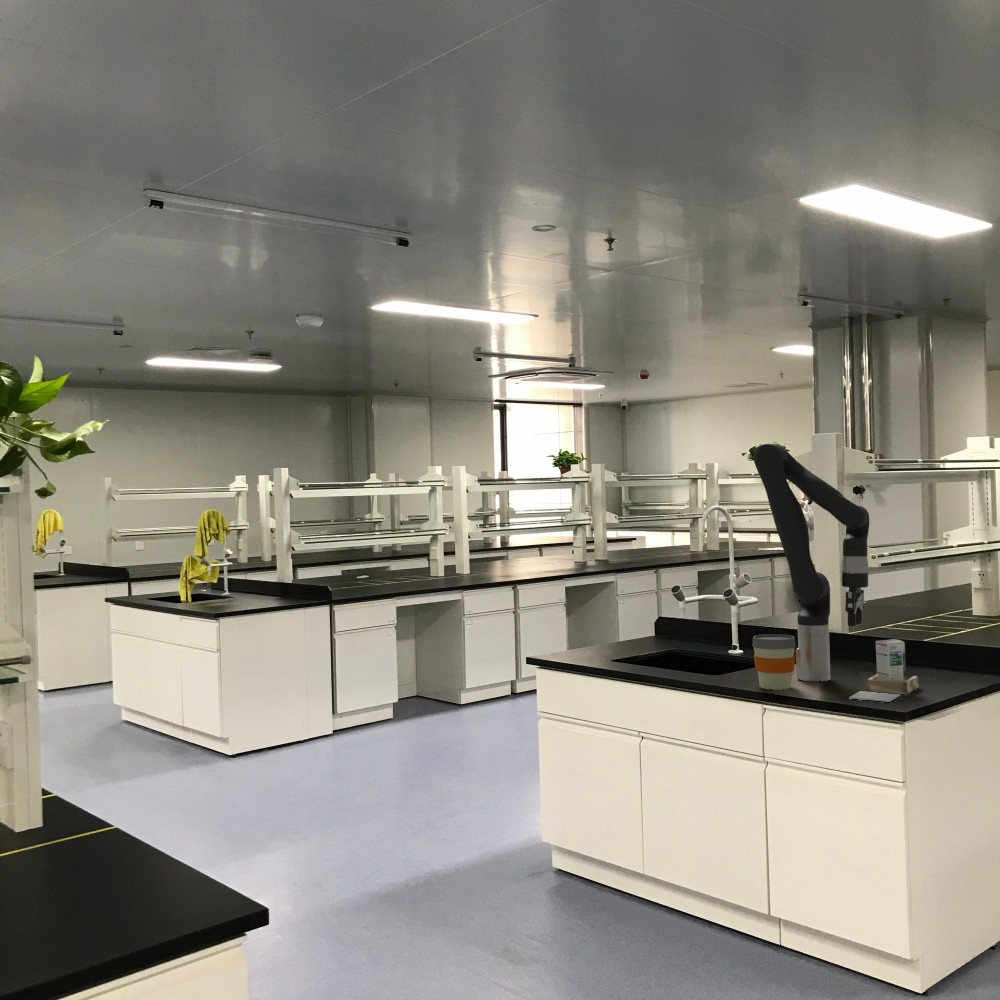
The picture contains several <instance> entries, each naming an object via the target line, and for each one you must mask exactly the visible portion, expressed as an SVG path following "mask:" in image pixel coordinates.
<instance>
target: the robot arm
mask: <svg viewBox="0 0 1000 1000" xmlns="http://www.w3.org/2000/svg"><path fill="white" fill-rule="evenodd" d="M753 462H754V463H753V464H754V466H755V468H756V470H757V473H758V475H759V477H760V480H761V482H762V484H763V487H764V489H765V492H766V496H767V501H768V504H769V508H770V511H771V515H772V518H773V523H774V525H775V529H776V531H777V534H778V536H779V537H778V538H779V540H780V544H781V546H782V550H783V552H784V555H785V558H786V561H787V564H788V569H789V574H790V580H791V585H792V589H793V592H794V594H795V596H796V597H797V599H798V600H800V602H799V603H800V604H799V605H800V606H799V612H798V613H797V619H796V621H797V642H798V643H797V646H798V647H796V649H795V664H796V680H799V679H800V680H801V681H804V682H814V683H815V682H816V683H817V682H819V681H821V682H828V680H829V681H830V680H831V659H830V658H831V657H830V656H831V655H830V654H831V652H830V651H831V650H830V629H829V627H830V625H829V622H830V621H829V620H830V619H829V618H830V614H831V587H830V582H829V579H828V578H827V577H826V575H824V574H823V573H821V572H819V571H816V568H815V565H814V562H813V559H812V557H811V551H810V532H809V527H808V523H807V520H806V516H805V514H804V511H803V508H802V506H801V503H800V501H799V499H798V498H797V497H796V495H795V493H794V492H793V490H792V489H791V487H790V485H789V482H790V483H791V484H793V485H794V486H795V487H797V488H798V489H799V490H800V492H802V493H803V495H805V496H806V497H807V498H808V499H809V500H811V501H812V502H813V503H814V504H816V505H818V506H819V507H820V508H822V509H823V510H824V511H827V512H828V513H830V514H831V516H833V517H834V519H836V520H837V521H839V523H841V524H842V525H843V526H845V537H844V539H843V541H842V561H841V587H844V588H848V591H845V608H844V611H845V612H846V614H847V626H848V627H856V626H857V625H862V623H863V611H864V608H865V595H864V594H865V593H864V592H865V590H864V588H868V587H869V560H868V537H869V530H870V513H869V512H868V510H867V509H866V508H865V507H864V506H861V505H857V504H856V503H853V502H852V501H851V500H849V499H848V498H847V497H845V496H844V495H843V494H842V492H840V491H839V490H838V489H836V488H835V487H833V486H832V485H831V484H829V483H827V482H826V481H825V480H823V479H821V478H820V477H818V476H817V475H816V474H814V473H813V472H811V471H810V470H809V469H808V468H806V467H805V466H804V465H802V464H801V463H800V462H799V461H797V459H795V458H794V457H793V455H791V453H789V452H788V450H787V449H785V448H784V447H783V446H782V445H780V444H776V443H763V444H760V445H759V446H757V447H756V449H755V451H754V453H753ZM862 588H863V589H862Z"/></svg>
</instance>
